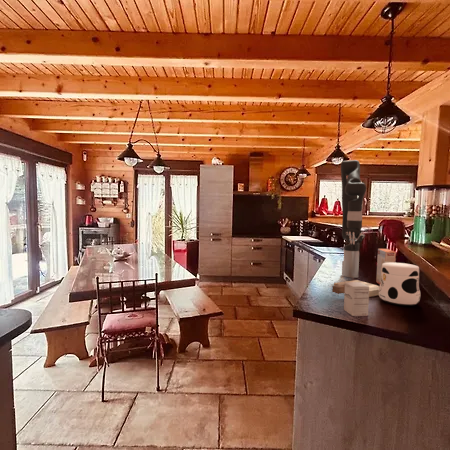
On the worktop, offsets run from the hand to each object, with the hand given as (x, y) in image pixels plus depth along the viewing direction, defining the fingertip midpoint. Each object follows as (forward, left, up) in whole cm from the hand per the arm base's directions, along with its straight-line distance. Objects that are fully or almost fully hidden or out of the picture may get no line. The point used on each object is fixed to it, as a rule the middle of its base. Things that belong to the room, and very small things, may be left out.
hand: (353, 250), depth 166 cm
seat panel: (+5, 0, -21) cm, 22 cm away
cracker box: (+2, +24, -22) cm, 32 cm away
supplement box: (+28, -30, -22) cm, 46 cm away
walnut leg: (+11, -16, -18) cm, 26 cm away
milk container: (+26, +1, -22) cm, 34 cm away
